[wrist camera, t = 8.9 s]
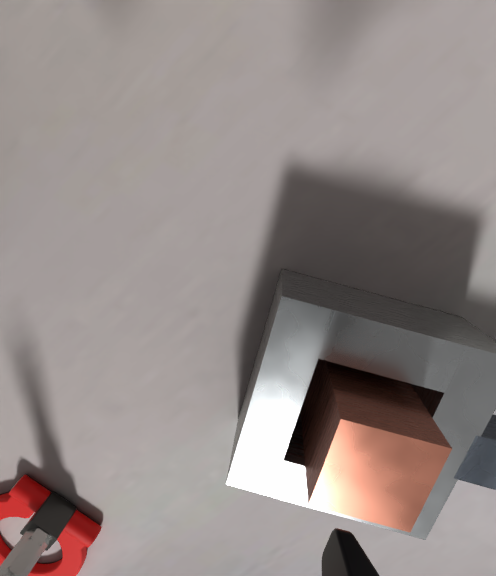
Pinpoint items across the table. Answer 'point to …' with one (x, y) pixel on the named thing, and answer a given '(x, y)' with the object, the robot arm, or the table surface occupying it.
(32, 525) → the tow hook
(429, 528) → the square frame with handle
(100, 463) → the table surface
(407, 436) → the square peg
